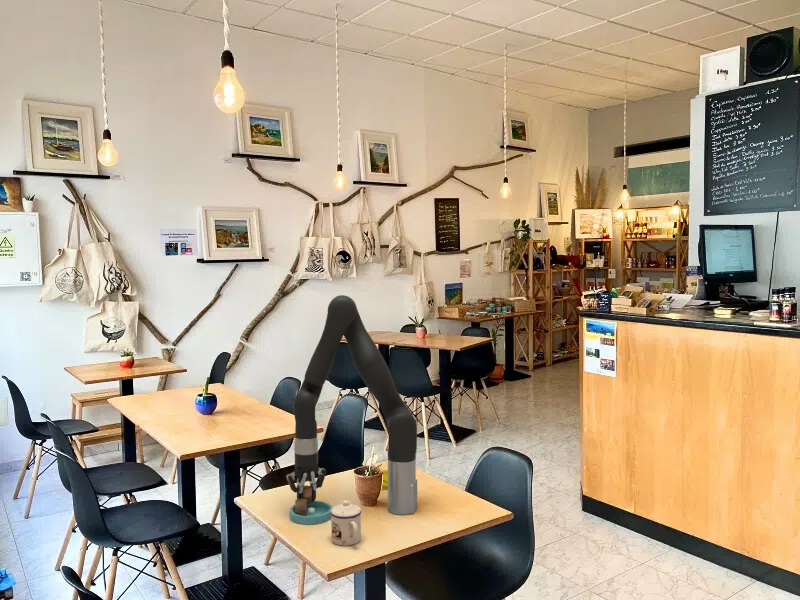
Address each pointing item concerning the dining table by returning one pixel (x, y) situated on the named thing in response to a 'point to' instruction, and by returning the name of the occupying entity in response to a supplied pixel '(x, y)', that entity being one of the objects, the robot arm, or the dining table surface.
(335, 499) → the dining table surface
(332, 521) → the teacup with lid
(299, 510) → the walnut bead
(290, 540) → the dining table surface
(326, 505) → the groove tray
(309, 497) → the walnut bead
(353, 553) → the dining table surface
